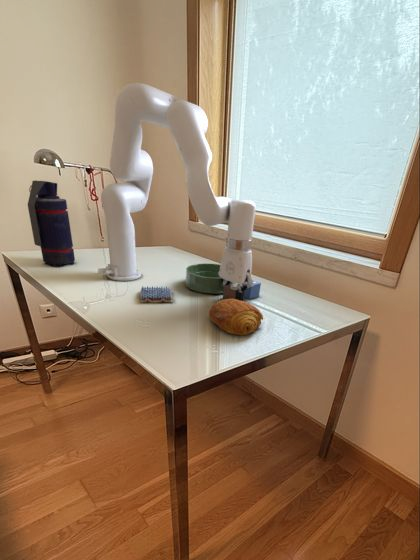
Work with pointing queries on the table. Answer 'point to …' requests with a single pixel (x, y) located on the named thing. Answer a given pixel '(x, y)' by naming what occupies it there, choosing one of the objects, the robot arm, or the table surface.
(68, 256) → the grenade
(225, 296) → the walnut block
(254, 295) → the periwinkle blue block
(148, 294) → the spiked square pad
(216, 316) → the croissant
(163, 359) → the table surface
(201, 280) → the faceted green bowl
